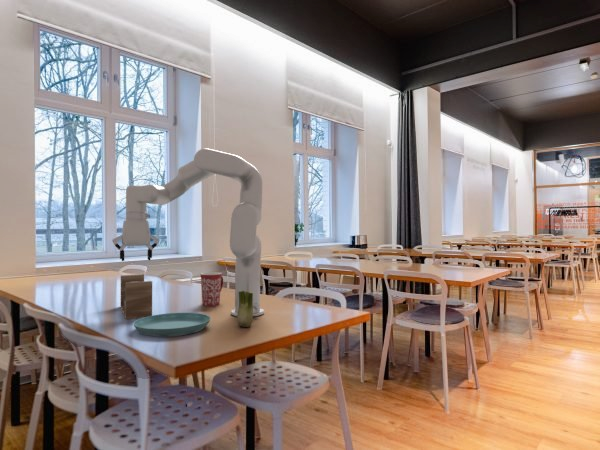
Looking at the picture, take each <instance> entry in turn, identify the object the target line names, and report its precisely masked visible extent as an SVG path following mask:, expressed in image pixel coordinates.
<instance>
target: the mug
mask: <svg viewBox="0 0 600 450" xmlns="http://www.w3.org/2000/svg"><path fill="white" fill-rule="evenodd" d="M222 274H223V273H222V272H218V271H217V272H216V271H214V272H213V271H212V272H211V271H210V272H209V271H207V272H201V273H200V281H201V282H200V286H201V287H200V288H201V300H202V301H201V302H202V303H201V304H202V306H205V307H215V306H220V305H221V304H220V303H221V301H220V300H221V292H222V289H223V287H224V277H223V275H222Z"/></svg>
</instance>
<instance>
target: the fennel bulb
mask: <svg viewBox="0 0 600 450" xmlns="http://www.w3.org/2000/svg"><path fill="white" fill-rule="evenodd" d="M253 318H254V316H253V293H249V292H245V291H239V308H238V315H237V316H236V321H237V323H236V324H237V325H238V326H240V327H242V328H249V327H251V326H252V323H253Z"/></svg>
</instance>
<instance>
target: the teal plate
mask: <svg viewBox="0 0 600 450" xmlns="http://www.w3.org/2000/svg"><path fill="white" fill-rule="evenodd" d="M210 321H211V316H210V315H208V314H204V313H198V312H171V313H170V312H169V313H160V314H155V315H153V314H152V316H148V317H142V318H137V319H135V320H134V322H133V323H132V324H133V327H134V328H135V329H136V330H137V331H138V332H139V333H141V334H142V335H145V336H149V337H159V338H160V337H166V338H167V337H179V336H184V335H185V336H187V335H191V334H194V333H197V332H199V331H202V330H203V329H204V328H205V327H206V326H207V325H208V324H209V323H210Z"/></svg>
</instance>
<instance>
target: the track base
mask: <svg viewBox="0 0 600 450" xmlns="http://www.w3.org/2000/svg"><path fill="white" fill-rule="evenodd" d="M120 306H121V307H120ZM120 306H119V307H120V308H121V311H122V314H123V315H125V316H124V318H125V320H130V319H141V318H144V317H148V316H153V281H152V280H147V281H145V274H125V275H120Z"/></svg>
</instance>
